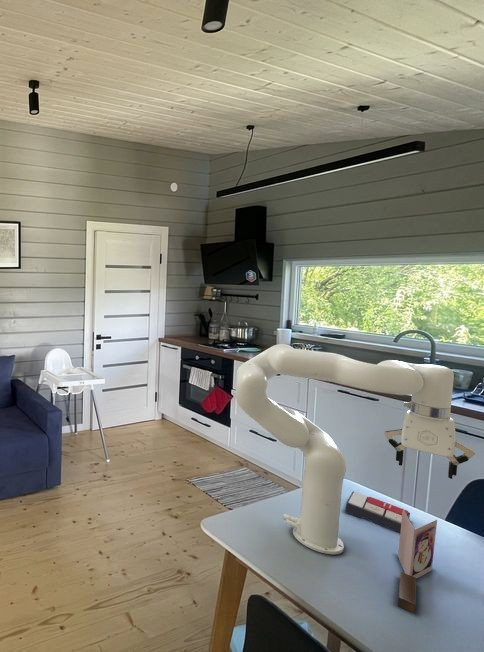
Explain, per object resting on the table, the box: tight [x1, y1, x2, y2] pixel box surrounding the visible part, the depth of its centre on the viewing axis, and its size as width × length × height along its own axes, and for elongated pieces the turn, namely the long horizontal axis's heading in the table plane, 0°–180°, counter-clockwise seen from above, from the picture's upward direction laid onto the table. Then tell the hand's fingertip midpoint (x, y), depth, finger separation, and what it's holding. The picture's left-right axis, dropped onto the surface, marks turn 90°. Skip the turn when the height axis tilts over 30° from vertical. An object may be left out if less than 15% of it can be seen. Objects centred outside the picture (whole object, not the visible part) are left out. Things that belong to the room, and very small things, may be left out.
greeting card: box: [397, 508, 438, 579], centre depth 111 cm, size 11×7×15 cm, turn 112°
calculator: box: [344, 490, 411, 534], centre depth 134 cm, size 11×4×15 cm
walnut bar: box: [397, 571, 417, 614], centre depth 102 cm, size 3×12×2 cm, turn 135°
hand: (424, 470), depth 110 cm, fingers open, 9 cm apart
